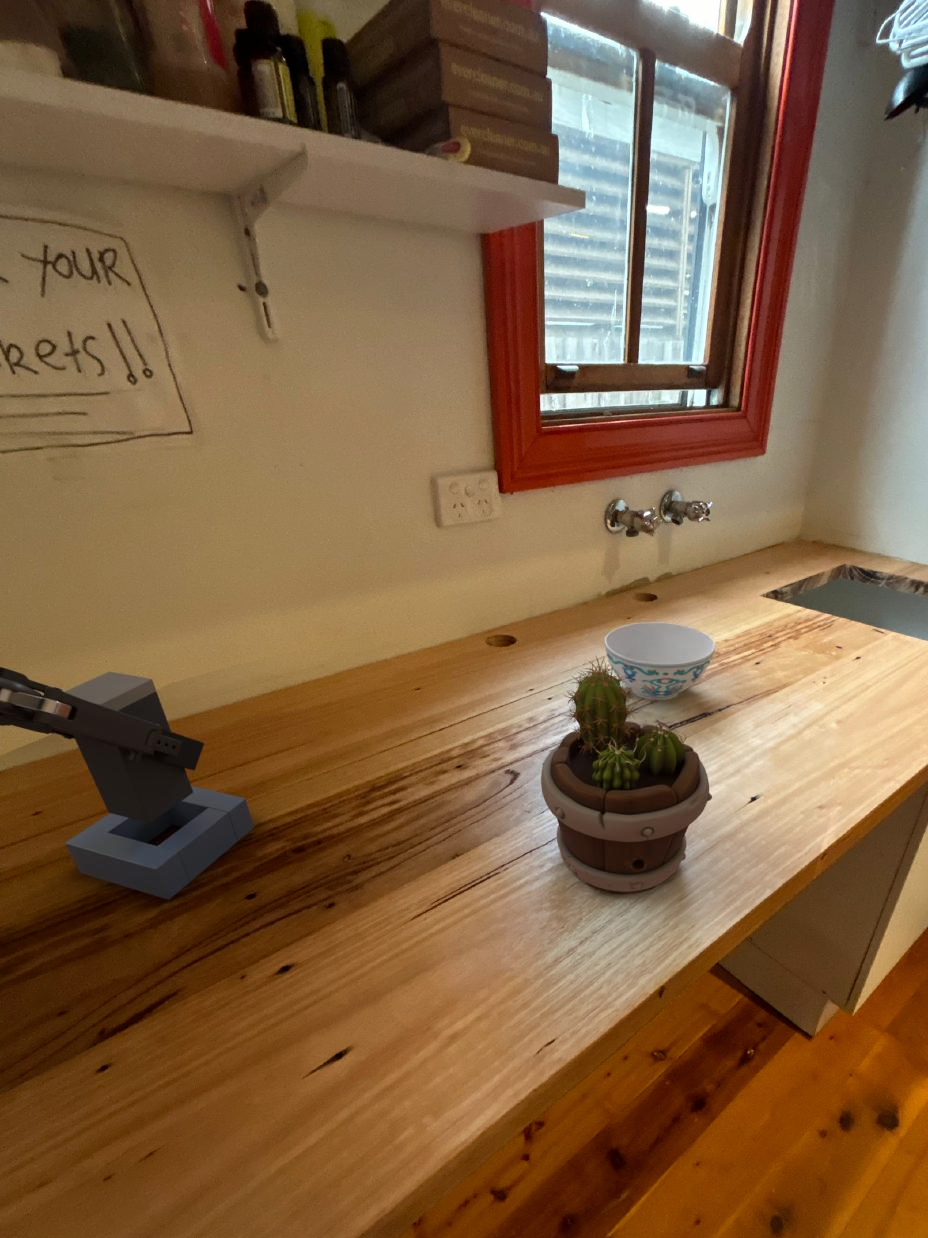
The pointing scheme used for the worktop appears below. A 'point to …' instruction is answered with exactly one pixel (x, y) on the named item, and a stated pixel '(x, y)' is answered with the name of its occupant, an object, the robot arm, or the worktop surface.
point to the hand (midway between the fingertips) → (172, 750)
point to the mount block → (170, 866)
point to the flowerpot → (621, 791)
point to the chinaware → (658, 657)
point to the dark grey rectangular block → (117, 778)
